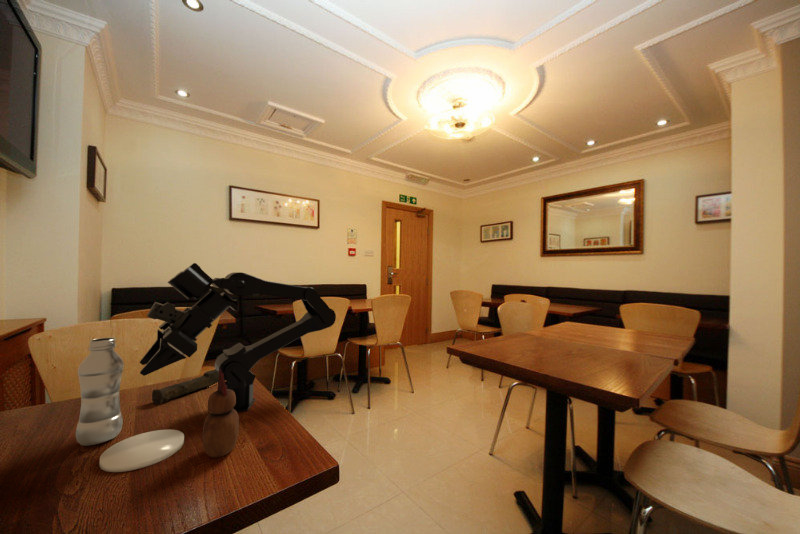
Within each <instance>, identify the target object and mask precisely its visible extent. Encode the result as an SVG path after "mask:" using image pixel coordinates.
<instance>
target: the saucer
mask: <svg viewBox="0 0 800 534" xmlns="http://www.w3.org/2000/svg"><path fill="white" fill-rule="evenodd" d="M184 444H185V434H184V433H183V432H182V431H180V430H177V429H157V430H152V431H151V430H150V431H148V432H142V433H139V434H136V435H133V436H130V437H127V438H125V439H123V440H121V441H118V442H117V443H114V444H113V445H112V446H110V447H108V448H107V449H105V451H103V452H102V453H101V454H100V457H99V468H100V469H101V470H103V471H104V472H108V473H124V472H131V471H134V470H139V469H143V468H146V467H149V466H152V465H155V464H157V463H160V462H161V461H164V460H166V459H168V458H169V457H171V456H172V455H174V454H175V453H177V452H178V451H180V450H181V448H182V447H183V445H184Z"/></svg>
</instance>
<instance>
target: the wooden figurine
mask: <svg viewBox="0 0 800 534" xmlns="http://www.w3.org/2000/svg"><path fill="white" fill-rule="evenodd" d="M225 382H226V380H224V378H223V373H222V374H221V369H219V378H218V385H217V390H216V391H214V392H212V393H211V394H210V395H209V397H208V399H207V410H208V412H209V413H208V415H207V416H206V417H205V419H204V422H203V428H202V445H203V449H204V452H205V454H206V455H207V456H208V457H211V458H220V457H224V456H226V455H227V454H230V452H232V451H233V449H234V448H235V446H236V443H237V439H238V436H239V431H240V430H239V427H240V426H239V423H240V419H239V413H238V411H237V412H236V410H235V409H233V408H234V406H235V404H236V395H235V392H234V391H233V390H231V389H227V387H226V385H225Z"/></svg>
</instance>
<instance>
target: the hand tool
mask: <svg viewBox="0 0 800 534" xmlns="http://www.w3.org/2000/svg"><path fill="white" fill-rule="evenodd" d="M218 378H219V374H218V372H217V371H216V369H215V368H214V369H212V370H208V371H205V372H204V373H203V375H200V376H199V377H195V378H192V379H189V380H186V381H182V382H180V383H174V384H172V385H168V386H165V387H163V388H159V389H152V392H151V401H152V403H153V404H154V405H157V406H159V405H161V404H162V403H167V402H168V401H169V400H172V399H175V398H178V397H180V396H183V395H187V394H189V393H192V392H196V391H197V390H201V389H203V388H205V387H209V386H211V385H213V384H215V383H217V382H218Z"/></svg>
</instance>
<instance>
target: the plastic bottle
mask: <svg viewBox="0 0 800 534" xmlns="http://www.w3.org/2000/svg"><path fill="white" fill-rule="evenodd" d="M116 340H117V339H116V337H100V338H94V339H90V341H89V346H88V351H89V353H88V355H87V356H86V357H85V358H84V359H83V360H82V361H81V363H80V364H79V365H78V369H77V376H78V382H79V386H80V398H81V399H80V403H81V404H80V410H79V411H80V412H79V418H78V422H77V425H76V429H75V438H76V442H77V443H78V444H80V445H81V446H84V447H85V446H87V447H88V446H95V445H99V444H102V443H105V442H107V441H111V440H112V439H115V437H118V435H119V434H120V433H121V432H122V429H123V423H124V421H123V420H124V419H123V414H122V412H121V404H120V403H121V401H120V400H121V399H120V388H121V380H122V376H123V371H124V365H125V362H124V359H123V358H122V357H121V355H120V354H119V353H118V352H116V350H115V348H116V347H117V344H116Z"/></svg>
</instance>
